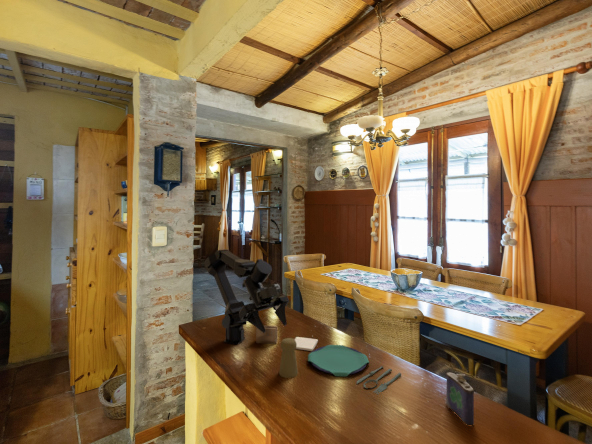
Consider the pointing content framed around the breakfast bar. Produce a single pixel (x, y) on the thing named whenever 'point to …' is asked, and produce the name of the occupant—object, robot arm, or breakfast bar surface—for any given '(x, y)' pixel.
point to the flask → (460, 397)
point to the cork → (288, 358)
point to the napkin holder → (267, 335)
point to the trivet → (305, 343)
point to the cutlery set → (345, 363)
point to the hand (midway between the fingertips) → (275, 328)
